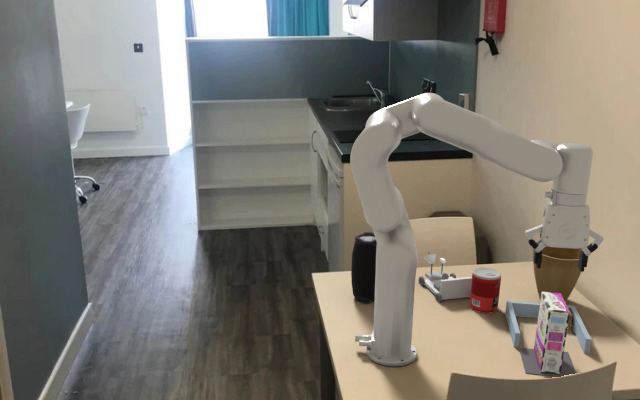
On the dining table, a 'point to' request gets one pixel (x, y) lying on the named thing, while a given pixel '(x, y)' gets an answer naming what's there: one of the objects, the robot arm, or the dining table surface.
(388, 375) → the dining table surface
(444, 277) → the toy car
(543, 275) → the plant pot
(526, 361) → the mat
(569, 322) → the walnut block
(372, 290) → the portable speaker
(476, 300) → the canned food
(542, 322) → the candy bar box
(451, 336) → the dining table surface
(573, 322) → the blue u-shaped frame
